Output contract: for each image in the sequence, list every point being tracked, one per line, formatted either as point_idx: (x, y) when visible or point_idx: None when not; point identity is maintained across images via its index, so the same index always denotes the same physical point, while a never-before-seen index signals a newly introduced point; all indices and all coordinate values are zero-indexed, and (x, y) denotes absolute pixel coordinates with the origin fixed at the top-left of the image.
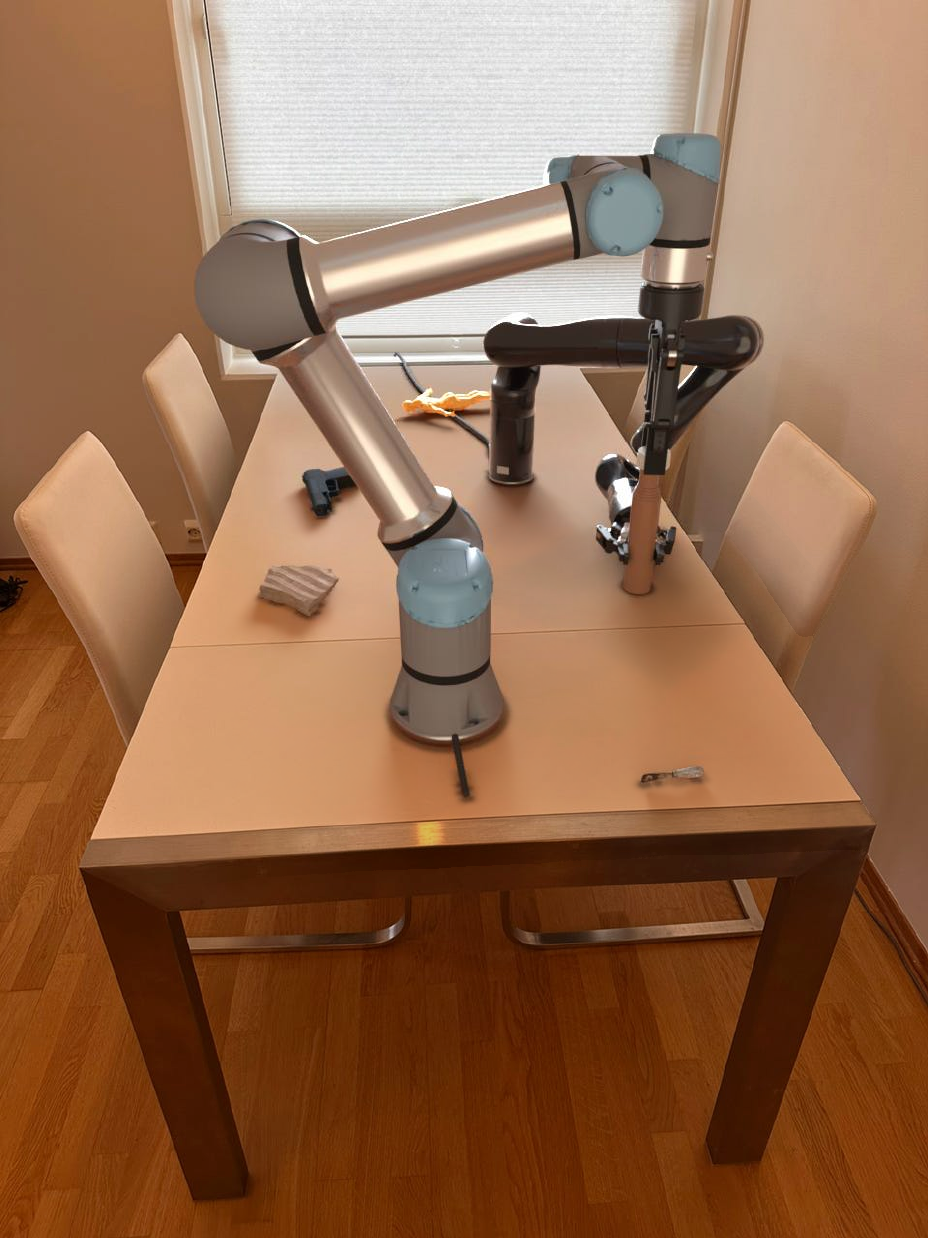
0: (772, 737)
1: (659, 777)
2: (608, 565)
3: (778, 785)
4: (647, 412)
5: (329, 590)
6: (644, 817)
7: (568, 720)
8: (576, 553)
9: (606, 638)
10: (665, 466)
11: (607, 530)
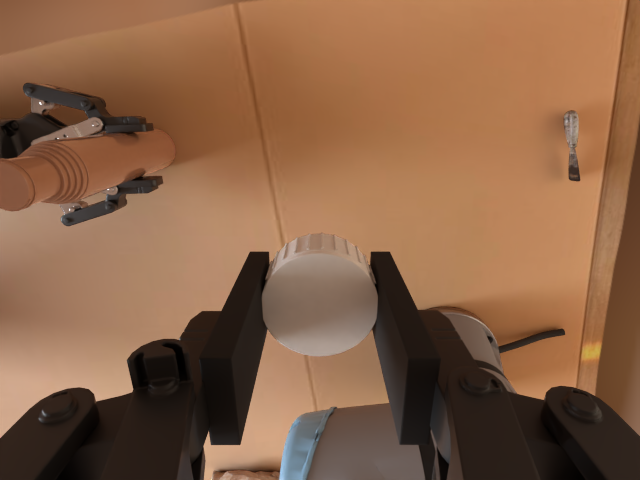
0: (507, 4)
1: (572, 161)
2: None
3: (594, 17)
4: (218, 434)
5: (251, 474)
6: (613, 179)
7: (457, 245)
8: (76, 228)
9: (295, 198)
10: (395, 265)
11: (75, 208)
